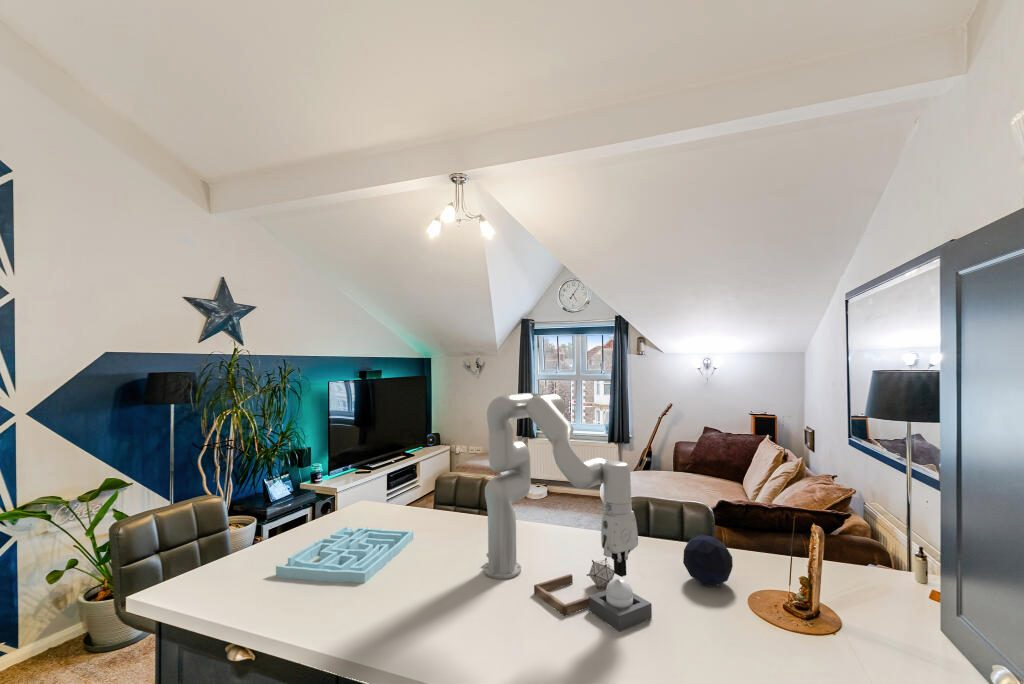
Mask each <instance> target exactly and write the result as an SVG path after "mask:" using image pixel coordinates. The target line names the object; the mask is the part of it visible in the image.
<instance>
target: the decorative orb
mask: <svg viewBox="0 0 1024 684" xmlns="http://www.w3.org/2000/svg"><path fill="white" fill-rule="evenodd" d="M682 559H683V561H682V563H683V565H684V567H685V569H686V570H687V573H688V574H689V575H690V577H691V578H693V579H694V580H696V581H697V582H699V583H700V584H701V585H704V586H709V587H716V586H719V585H722V584H723V583H725V582H727V581H728V580H729V578H730V575H731V574H732V570H733V567H734V565H733V555H732V554H731V553H730V551H729V549H728V548H727V546H726V544H725V543H723V542H722V541H720V540H719V539H718V538H716V537H714V536H710V535H704V534H699V535H697V536H695V537H693V538H692V539H690V540H688V542H687V544H686V545H685V547H684V549H683V558H682Z"/></svg>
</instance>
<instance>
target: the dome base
mask: <svg viewBox="0 0 1024 684" xmlns="http://www.w3.org/2000/svg"><path fill="white" fill-rule="evenodd" d="M591 595H592V596H591ZM591 595H588V596H589V608H588V611H589V612H590V611H591V612H592V613H591V612H590V613H591V614H592V615H594V614H595V615H596V616H595V615H594V616H595V617H597V616H598V617H599V620H601V619H602V620H601V621H602V622H604V623H606V624H607V625H609V626H610V627H611V626H612V628H613V629H614V628H615V629H614V630H616V631H617V630H618V631H617V632H623V631H625V630H627V629H630V628H633V627H635V626H637V625H640V624H642V623H644V622H647V621H650V620H651V618H653V613H652V612H653V611H652V608H653V607H652V602H650V601H648V600H646V599H644V598H642V597H641V596H639V595H637V594H636V593H634V592H633V605H632V606H629V607H627V608H624V609H622V610H618V609H616V608H615V607H613V606H611V605H610V604H608V603H607V602H606V590H604V591H600V593H599V592H597V593H594V594H591ZM598 617H597V618H598Z"/></svg>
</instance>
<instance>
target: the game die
mask: <svg viewBox="0 0 1024 684" xmlns="http://www.w3.org/2000/svg"><path fill="white" fill-rule="evenodd" d="M607 558H608V557H606V556H605V558H604V559H603V560H602V559H601V560H597V561H594V560H593V559H591V563H592V564H591V567H590V569H589V572H588V573H587V574H586V576H587V577H590V579H591V580H592V582H593V583H594V584H595V586H596V590H597V589H598V590H599V588H601V587H605V586H606V587H607V585H608V583H609V582H610V581H611V580H612V579H614V577H615V575H616V574H615V573H614V568H613V567H612V565H610V563H609V561H607Z"/></svg>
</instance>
